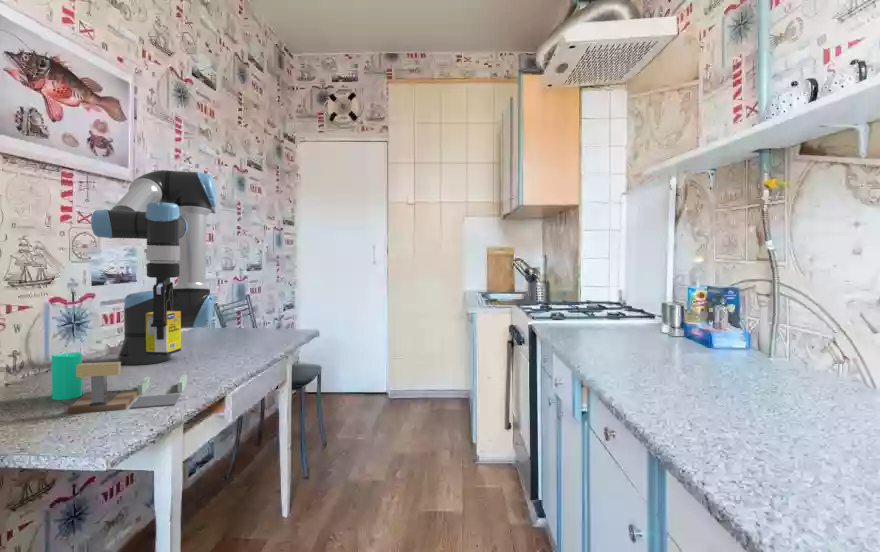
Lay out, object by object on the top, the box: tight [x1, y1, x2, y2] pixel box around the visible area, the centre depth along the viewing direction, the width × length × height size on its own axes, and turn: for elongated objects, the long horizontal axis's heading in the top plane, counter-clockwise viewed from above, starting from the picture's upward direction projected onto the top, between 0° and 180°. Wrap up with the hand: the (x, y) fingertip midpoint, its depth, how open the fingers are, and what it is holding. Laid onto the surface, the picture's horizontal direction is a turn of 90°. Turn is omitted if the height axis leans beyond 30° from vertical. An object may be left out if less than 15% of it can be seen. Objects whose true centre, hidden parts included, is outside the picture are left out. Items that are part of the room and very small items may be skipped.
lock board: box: [67, 388, 139, 414], centre depth 116 cm, size 13×11×2 cm
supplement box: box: [146, 311, 182, 355], centre depth 129 cm, size 6×6×11 cm
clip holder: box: [137, 374, 188, 396], centre depth 129 cm, size 9×10×2 cm
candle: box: [51, 351, 83, 401], centre depth 121 cm, size 6×6×12 cm
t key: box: [76, 361, 122, 403], centre depth 111 cm, size 2×8×9 cm, turn 110°
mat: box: [130, 393, 181, 410], centre depth 118 cm, size 9×9×1 cm
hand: (163, 348), depth 129 cm, fingers closed on supplement box, 8 cm apart
